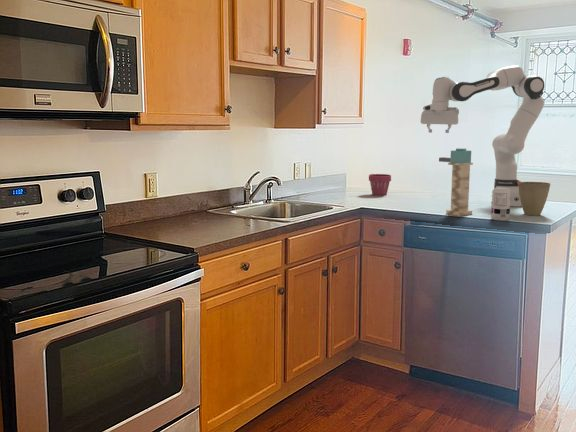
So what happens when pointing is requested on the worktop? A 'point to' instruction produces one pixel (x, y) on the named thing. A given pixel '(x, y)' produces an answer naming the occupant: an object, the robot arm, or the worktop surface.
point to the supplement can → (501, 203)
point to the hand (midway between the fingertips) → (438, 132)
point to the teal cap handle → (458, 156)
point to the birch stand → (460, 189)
